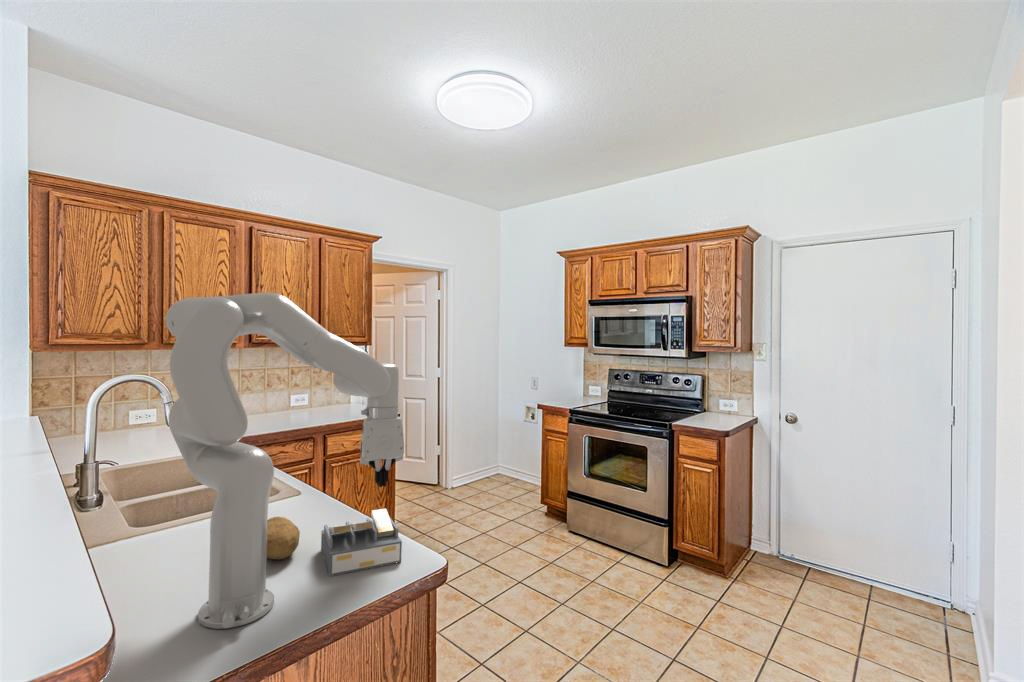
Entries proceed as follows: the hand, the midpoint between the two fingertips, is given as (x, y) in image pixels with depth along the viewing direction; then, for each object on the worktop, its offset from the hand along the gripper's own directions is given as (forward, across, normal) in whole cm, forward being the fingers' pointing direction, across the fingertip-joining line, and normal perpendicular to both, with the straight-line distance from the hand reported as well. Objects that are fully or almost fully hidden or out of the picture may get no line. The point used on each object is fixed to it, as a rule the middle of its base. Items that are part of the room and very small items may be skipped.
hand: (381, 484), depth 121 cm
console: (+15, -6, -4) cm, 17 cm away
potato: (+15, -23, +4) cm, 28 cm away
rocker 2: (+8, -6, -4) cm, 10 cm away
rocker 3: (+8, 0, -4) cm, 9 cm away
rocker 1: (+8, -10, -4) cm, 14 cm away
